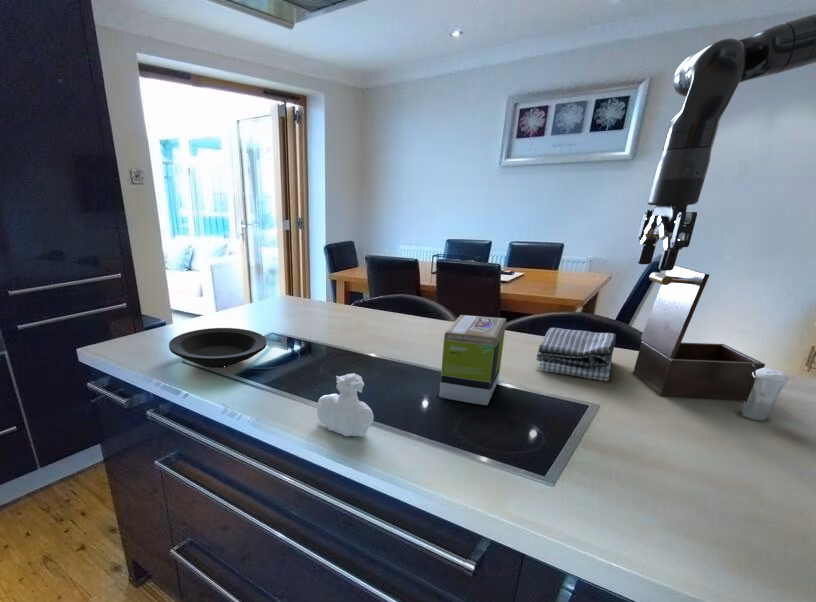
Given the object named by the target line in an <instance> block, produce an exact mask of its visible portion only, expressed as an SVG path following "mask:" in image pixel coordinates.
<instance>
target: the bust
mask: <svg viewBox="0 0 816 602" xmlns="http://www.w3.org/2000/svg"><path fill="white" fill-rule="evenodd" d="M335 379H336V382H335V383H337V384H336V387H335V389H336V390H337V391H338V392H339V394H338V393H331V394H325V395H322V396H321V397H320V398H319V399H318V402H317V403H316V416H317V419H318V420H319V422H320V423H321V424H323V425H324V426H325V427H326V428H327V429H328V431H332V432H334V433H337V434H341V435H342V436H344V437H352V436H353V437H365V435H366V434H367V433H368V430H369V429H370V426H371V425H372V424H373V422H374V419H375V415H374V412H373V410H372V408H370V406H369V405H368V404H367V403H366V402H364V401H361V400H359V396H358V393H363V388H364V387H365V382H364V381H363V377H362V376H361V375H359V374H358V373H357V374H356V373H355V372H354V373H346V374H345V375H341V376H339V375H336V376H335Z"/></svg>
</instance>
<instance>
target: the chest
mask: <svg viewBox="0 0 816 602" xmlns="http://www.w3.org/2000/svg"><path fill="white" fill-rule="evenodd" d="M753 365H754V366H755V371H756V370H758V369H761V368H765V366H766V363H764V362H762V361H760V360H758V359H756V358H754V357H752V356H749V355H747V354H745V353H744V352H741V351H739V350H737V349H735V348H732V347H730V346H729V345H726V344H724V343H710V342H709V343H708V342H681V344H680V346H679V349H678V351H677V353H676V356H675V358H670V357H668V356H667V355H665V354H664V353H662V352H660V351H659V350H657V349H656V348H654V347H653V346H651V345H649V344H648V343H646V342H645V341H643V340H641V344H640V347H639V351H638V353H637V357H636V361H635V365H634V368H633V371H632V374H633V375H634V376H636V377H637V378H638V379H639V380H640V381H641V382H643V383H644V384H645V385H646V386H648V387H649V388H650V389H651V390H653V391H654V392H655V393H656V394H658V395H659V396H660V397H677V398H691V399H692V398H694V399H713V400H729V401H745V398H746V395H747V391H748V388H749V384H750V380H751V376H752V372H754V371H753Z"/></svg>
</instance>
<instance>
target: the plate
mask: <svg viewBox="0 0 816 602" xmlns="http://www.w3.org/2000/svg"><path fill="white" fill-rule="evenodd" d="M266 347H267V339H266V337H265V336H264V335H262V334H261V333H259V332H257V331H253V330H249V329H244V328H237V327H236V328H235V327H212V328H211V327H210V328H202V329H195V330H190V331H187V332H183V333H181V334H177V336H175V337H173V338H172V339H171V340H170V341H169V342H168V348H169V349H168V350H169V351H170V353H172V354H173V355H175V356H177V357H179V358H182V359H184V360H186V361H188V362H190V363H193V364H196V365H199V366H202V367H205V368H208V369H225V368H229V367H231V366H234V365H237V364H240V363H243V362H244V361H247V360H249V359H251V358H253V357H254V356H257V354H259V353H261V352H262V351H263V350H265V349H266ZM224 366H225V367H224Z"/></svg>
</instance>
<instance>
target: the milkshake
mask: <svg viewBox="0 0 816 602" xmlns="http://www.w3.org/2000/svg"><path fill="white" fill-rule="evenodd" d="M753 371H754V372H752V376H751V380H750V384H749V388H748V391H747V395H746V398H745V400H743V401H744V402H743V405H742V409H741V412H740V414H741V415H742V416H743V417H745V418H747V419H750V420H753V421H754V420H755V421H764V420H766V419H767V418H768V415H769V414H770V413H771V411H772V409H773V407H774V406H775V403H776V401H777V399H778V398H779V396H780V394H781V393H782V391H783V389H784V387H786V385H787V383H788V381H789V377H788V375H787V374H786V373H785V372H782V371H779V370H776V369H774V368H767V367H764V368H761V369H758V370H756V371H755V366H754V365H753Z"/></svg>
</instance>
